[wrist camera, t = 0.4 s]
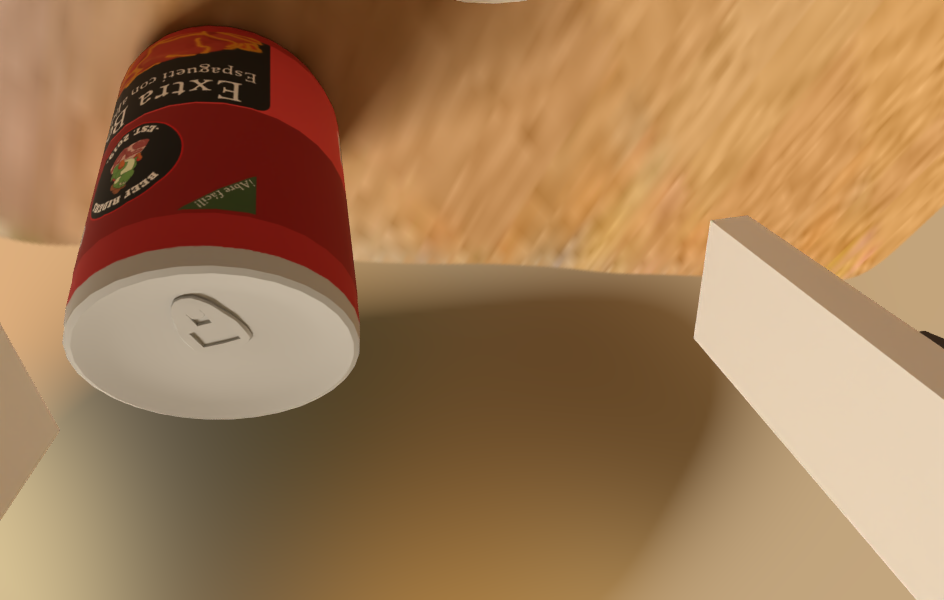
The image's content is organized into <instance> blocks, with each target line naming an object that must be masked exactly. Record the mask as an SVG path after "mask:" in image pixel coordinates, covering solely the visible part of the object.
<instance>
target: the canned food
mask: <svg viewBox="0 0 944 600" xmlns="http://www.w3.org/2000/svg"><path fill="white" fill-rule="evenodd" d="M355 279H356V278H355V270H354V261H353V252H352V244H351V235H350V226H349V218H348V209H347V200H346V191H345V183H344V174H343V165H342V157H341V148H340V139H339V130H338V124H337V120H336V116H335V113H334V109H333V107H332V105H331V103H330V101H329V99H328V97H327V95H326V93H325V91H324V90H323V88H322V87H321V85H320V84H319V82H318V81H317V79H316V78H315V77H314V76H313V74H312V73H311V72H310V70H309V69H308V68H307V67H306V66H305V65H304V64H303V63H302V62H301V61H300V60H299V59H298V58H296V57H295V56H294V55H293V54H292V53H291V52H289V51H288V50H286V49H284V48H283V47H281V46H280V45H278V44H277V43H275V42H274V41H271V40H269V39H267V38H264V37H262V36H260V35H257V34H255V33H253V32H249V31H245V30H241V29H237V28H233V27H223V26H200V27H192V28H185V29H183V30H180V31H177V32H174V33H171V34H168V35H166V36H165V37H163V38H162V39H160V40H158V41H157V42H155V43H154V44H152V45H151V46H150V47H148V48H147V49H146V50H145V51H144V52H143V53H142V54H141V55H140V56H139V57H138V58H137V59H136V60H135V61H134V62H133V64H132V65H131V66H130V67H129V69H128V71H127V73H126V75H125V77H124V79H123V81H122V83H121V87H120V91H119V95H118V99H117V102H116V106H115V110H114V114H113V118H112V122H111V126H110V130H109V134H108V138H107V142H106V146H105V150H104V154H103V158H102V162H101V165H100V169H99V173H98V177H97V181H96V185H95V189H94V193H93V197H92V201H91V205H90V209H89V213H88V217H87V221H86V225H85V228H84V232H83V236H82V240H81V244H80V248H79V252H78V256H77V260H76V264H75V268H74V272H73V279H72V284H71V288H70V293H69V297H68V301H67V305H66V311H65V319H64V334H63V346H64V349H65V352H66V356H67V359H68V360H69V362H70V363H71V365H72V366H73V367H74V369H75V370H76V372H77V373H78V374H79V375H80V376H81V377H83V378H84V379H85V380H86V381H87V382H88V383H90V384H91V385H92V386H93V387H95V388H96V389H98V390H100V391H102V392H103V393H105V394H107V395H109V396H111V397H112V398H114V399H117V400H119V401H122V402H125V403H127V404H129V405H132V406H134V407H138V408H142V409H145V410H149V411H152V412H156V413H160V414H166V415H173V416H178V417H185V418H197V419H198V418H199V419H239V418H249V417H258V416H263V415H269V414H274V413H279V412H282V411H286V410H289V409H293V408H296V407H299V406H302V405H304V404H306V403H309V402H311V401H313V400H316V399H318V398H320V397H321V396H323V395H324V394H326V393H328V392H330V391H331V390H333V389H334V388H335V387H336V386H338V385H339V384H340V383H341V382H342V381H343V380H345V379H346V377H347V376H348V374H349V373H350V372H351V370H352V369H353V368H354V366H355V363H356V360H357V358H358V355H359V339H360V321H359V312H358V303H357V289H356V280H355Z"/></svg>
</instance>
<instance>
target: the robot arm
mask: <svg viewBox="0 0 944 600" xmlns="http://www.w3.org/2000/svg"><path fill="white" fill-rule="evenodd" d="M694 339H695V340H696V341H697V342H698V344H699V345H700V346H701V347H702V348H703V349H704V351H705V352H706V353H707V354H708V355H709V357H710V358H711V359H712V360H713V361H714V362H715V364H716V365H717V366H718V367H719V368H720V370H721V371H722V372H723V373H724V374H725V375H726V377H727V378H728V379H729V380H730V381H731V382H732V384H733V385H734V386H735V387H736V388H737V390H738V391H739V392H740V393H741V394H742V395H743V397H744V398H745V399H746V400H747V401H748V402H749V403H750V405H751V406H752V407H753V408H754V410H755V411H756V412H757V413H758V414H759V415H760V417H761V418H762V419H763V420H764V421H765V422H766V424H767V425H768V426H769V427H770V428H771V429H772V431H773V432H774V433H775V434H776V435H777V437H778V438H779V439H780V440H781V441H782V442H783V443H784V445H785V446H786V447H787V448H788V449H789V451H790V452H791V453H792V454H793V455H794V456H795V458H796V459H797V460H798V461H799V462H800V464H801V465H802V466H803V467H804V468H805V469H806V471H807V472H808V473H809V474H810V475H811V477H812V478H813V479H814V480H815V481H816V482H817V484H818V485H819V486H820V487H821V488H822V489H823V491H824V492H825V493H826V494H827V495H828V496H829V498H830V499H831V500H832V501H833V502H834V503H835V505H836V506H837V507H838V508H839V509H840V511H841V512H842V513H843V514H844V515H845V516H846V518H847V519H848V520H849V521H850V522H851V523H852V525H853V526H854V527H855V528H856V529H857V531H858V532H859V533H860V534H861V535H862V536H863V538H864V539H865V540H866V541H867V542H868V544H869V545H870V546H871V547H872V548H873V549H874V551H875V552H876V553H877V554H878V555H879V556H880V558H881V559H882V560H883V561H884V562H885V564H886V565H887V566H888V567H889V568H890V569H891V571H892V572H893V573H894V574H895V575H896V576H897V578H898V579H899V580H900V581H901V582H902V583H903V585H904V586H905V587H906V588H907V589H908V590H909V592H910V593H911V594H912V595H913V596H914V598H915V599H916V600H944V339H943V338H941V337H938V336H936V335H934V334H931V333H929V332H926V331H920V332H918V331H917V330H915V329H914V328H912V327H911V326H909V325H908V324H907V323H905V322H904V321H902V320H901V319H899V318H898V317H896V316H895V315H893V314H892V313H890V312H889V311H887V310H886V309H885V308H883V307H882V306H880V305H879V304H877V303H875V302H874V301H873V300H871V299H870V298H868V297H867V296H865V295H864V294H862V293H861V292H860V291H858V290H857V289H855V288H854V287H852V286H851V285H849V284H848V283H846V282H845V281H843V280H842V279H840V278H839V277H838V276H836V275H835V274H833V273H832V272H830V271H829V270H827V269H826V268H824V267H823V266H821V265H820V264H818V263H817V262H815V261H814V260H813V259H811V258H810V257H808V256H807V255H805V254H804V253H802V252H801V251H799V250H798V249H796V248H795V247H793V246H792V245H790V244H789V243H788V242H786V241H785V240H783V239H782V238H780V237H779V236H777V235H776V234H774V233H773V232H771V231H770V230H768V229H767V228H765V227H764V226H763V225H761V224H760V223H758V222H757V221H755V220H754V219H752V218H751V217H749V216H740V217H732V218H725V219H717V220H710V227H709V234H708V241H707V248H706V255H705V262H704V270H703V277H702V284H701V291H700V298H699V305H698V312H697V319H696V326H695V333H694ZM59 431H60V429H59V427H58V425H57V424H56V422H55V420H54V418H53V417H52V415H51V413H50V411H49V409H48V408H47V406H46V404H45V402H44V400H43V399H42V397H41V395H40V393H39V392H38V390H37V388H36V386H35V384H34V383H33V381H32V379H31V377H30V376H29V374H28V372H27V370H26V368H25V367H24V365H23V363H22V361H21V359H20V358H19V356H18V354H17V352H16V351H15V349H14V347H13V346H12V343H11V342H10V340H9V338H8V336H7V334H6V333H5V331H4V329H3V327H2V326H1V324H0V520H1V519H2V517H3V515H4V514H5V513H6V511H7V510H8V508H9V507H10V505H11V504H12V502H13V501H14V499H15V498H16V496H17V495H18V493H19V492H20V490H21V489H22V487H23V485H24V484H25V483H26V481H27V480H28V478H29V477H30V475H31V474H32V472H33V471H34V469H35V468H36V466H37V464H38V463H39V461H40V460H41V458H42V457H43V456H44V454H45V453H46V451H47V450H48V448H49V446H50V445H51V443H52V442H53V440H54V439H55V437H56V436H57V434H58V433H59Z"/></svg>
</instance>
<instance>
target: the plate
mask: <svg viewBox="0 0 944 600" xmlns="http://www.w3.org/2000/svg"><path fill="white" fill-rule="evenodd" d="M456 1H462V2H470V3H491V4H496V3H508V2H519V1H526V0H456Z"/></svg>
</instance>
